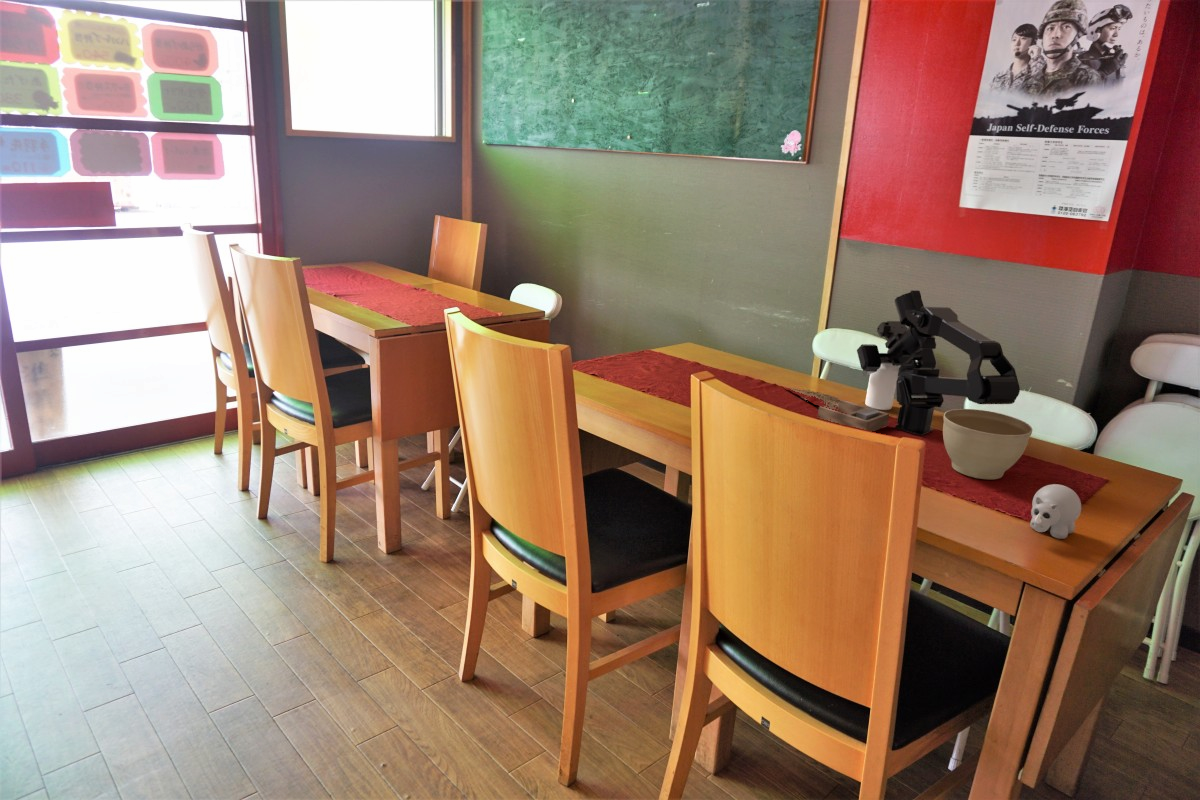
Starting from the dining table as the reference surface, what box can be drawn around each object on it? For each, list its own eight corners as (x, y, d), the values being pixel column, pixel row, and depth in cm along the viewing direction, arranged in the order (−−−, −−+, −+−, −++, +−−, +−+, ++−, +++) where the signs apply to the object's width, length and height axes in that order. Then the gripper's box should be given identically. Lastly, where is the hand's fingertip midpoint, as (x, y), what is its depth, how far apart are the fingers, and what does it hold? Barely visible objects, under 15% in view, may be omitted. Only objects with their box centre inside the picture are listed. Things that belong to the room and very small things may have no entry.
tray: (887, 426, 184) (889, 413, 183) (865, 434, 177) (867, 422, 176) (839, 411, 192) (841, 399, 191) (817, 418, 186) (819, 406, 185)
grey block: (879, 425, 183) (881, 411, 182) (864, 431, 179) (866, 416, 178) (865, 421, 186) (867, 407, 185) (850, 427, 181) (852, 412, 180)
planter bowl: (1022, 468, 163) (1034, 419, 159) (1017, 495, 149) (1030, 441, 146) (940, 450, 170) (950, 402, 167) (928, 473, 157) (938, 422, 154)
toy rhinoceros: (1007, 536, 133) (1018, 489, 130) (1036, 518, 140) (1048, 474, 137) (1051, 553, 127) (1064, 506, 125) (1080, 534, 135) (1093, 488, 132)
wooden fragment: (878, 416, 191) (879, 411, 191) (847, 422, 186) (848, 418, 185) (801, 386, 212) (802, 383, 212) (771, 391, 206) (772, 387, 206)
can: (889, 404, 200) (897, 358, 196) (893, 412, 194) (902, 365, 190) (863, 401, 201) (871, 356, 197) (866, 409, 195) (874, 362, 191)
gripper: (939, 313, 188) (906, 346, 202) (867, 312, 185) (839, 345, 198) (952, 354, 183) (917, 385, 197) (878, 353, 180) (848, 384, 193)
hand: (880, 374), depth 196 cm, fingers open, 9 cm apart
